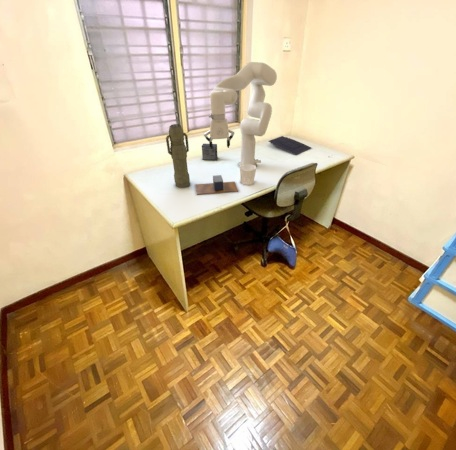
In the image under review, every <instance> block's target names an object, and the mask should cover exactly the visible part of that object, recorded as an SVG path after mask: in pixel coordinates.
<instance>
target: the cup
mask: <svg viewBox="0 0 456 450" xmlns="http://www.w3.org/2000/svg"><path fill="white" fill-rule="evenodd" d="M256 172H257V165H256V166H254V165H251V164H244V165H241V166H239V177H240V184H242V185H243V186H250V185H251V186H252V185H254V182H255V176H256Z"/></svg>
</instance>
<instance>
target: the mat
mask: <svg viewBox="0 0 456 450" xmlns="http://www.w3.org/2000/svg"><path fill="white" fill-rule="evenodd" d="M195 189H196V195H197V196H198V195H199V196H201V195H211V194H212V195H214V194H224V193H225V194H226V193H239V189H238V187H237V184H236V182H235V181H225V182H224V181H223V190H220V191H215V189H214V185H213V182H211V183H198V184H197V183H196V184H195Z"/></svg>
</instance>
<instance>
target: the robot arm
mask: <svg viewBox="0 0 456 450" xmlns="http://www.w3.org/2000/svg"><path fill="white" fill-rule="evenodd" d="M277 78H278V75H277V72H276V70H275V69H274V68H272V67H271V66H270V65H268V64H267V63H265V62H258V61H257V62H256V61H250V62H247V63H246V64H245V65H243V67H241V69H240V70H238V71H237V72H236V74H234V75H231V76H229V77H227V78H225V79H222V80H221V81H219V82H218V83H217V84H216V85H215V86H214V87H213V89H212V91H210V93H209V99H210V101H209V102H210V114H208V118H210V121H209V130H207V131H206V132H205V133H203V137H204V138H205V139H206V141H208V144H209V145H210V147H211V149H213V147H212V144H213V140H225V139H226V147H227V148H228V149H229V148H230V146H231V140H232V139H233V137H234V135H235V131H233V130H231V129H229V121H228V119H227V118H226V106H229V105H230V106H231V105H234V104H235V103H236V102H237V100H238V92H237V91H242V90H244V89H247V87H248V86H249V85H250V84H251V88H252V90H251V92H252V93H251V97H250V99H249V103H248V107H247V116H249V117H251V118H249V117H245V118H243V119H242V120H241V121H240V124H239V128H240V136H241V138H240V139H241V141H240V143H241V145H240V162H238V167H240V166H241V165H244V164H251V165H254V166H256V167H257V164H261V163H262V160H261V159H258V158H257V159H256V157H255V156H256V143H257V142H256V137H263V136H265V134H266V132H267V129H268V126H269V123H270V121H271V118H272V114H273V108H272V105H271V104H270V103H268V102H265V100H266V99H265V98H266V91H265V89H264V86H267V87H268V86H269V87H271V86H272V87H273V86H274V85H275V84H276V82H277ZM229 134H230V135H229ZM208 135H210V136H209V137H208ZM255 136H256V137H255Z"/></svg>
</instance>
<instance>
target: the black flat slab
mask: <svg viewBox="0 0 456 450" xmlns="http://www.w3.org/2000/svg"><path fill="white" fill-rule="evenodd" d="M268 142H269V143H270V144H272V146H275V147H278V148H280V149H282V150H284V151H286V152H288V153H290V154H293V155H295V156H297V155H300V154H301V153H303V152H305V151H307V150H310V149H312V147H311V146H309V145H306V144H305V143H303V142H301V141H298V140H297V139H296V140H295V139H293V138H290V137H288V136H284V135H281V136H278V137H275V138H273V139H270V140H268Z"/></svg>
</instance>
